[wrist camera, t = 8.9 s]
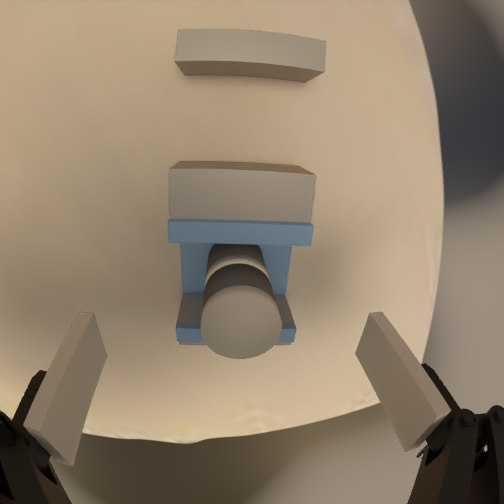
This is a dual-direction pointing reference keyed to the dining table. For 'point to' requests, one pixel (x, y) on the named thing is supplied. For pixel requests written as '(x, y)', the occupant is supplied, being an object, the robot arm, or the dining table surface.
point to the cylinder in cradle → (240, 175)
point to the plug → (239, 303)
